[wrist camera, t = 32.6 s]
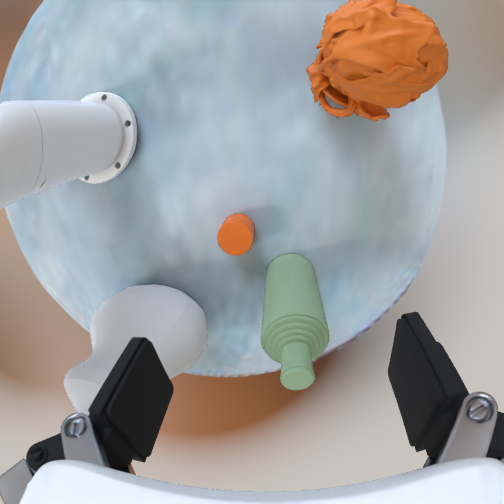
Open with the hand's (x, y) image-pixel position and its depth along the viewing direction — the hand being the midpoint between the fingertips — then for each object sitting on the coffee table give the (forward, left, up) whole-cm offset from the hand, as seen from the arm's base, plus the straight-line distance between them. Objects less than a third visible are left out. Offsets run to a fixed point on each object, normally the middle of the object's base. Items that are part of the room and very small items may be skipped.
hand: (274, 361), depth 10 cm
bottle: (0, -10, -26) cm, 28 cm away
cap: (-5, -3, -26) cm, 26 cm away
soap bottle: (-19, -12, -26) cm, 34 cm away
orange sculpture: (+11, +14, -26) cm, 31 cm away
